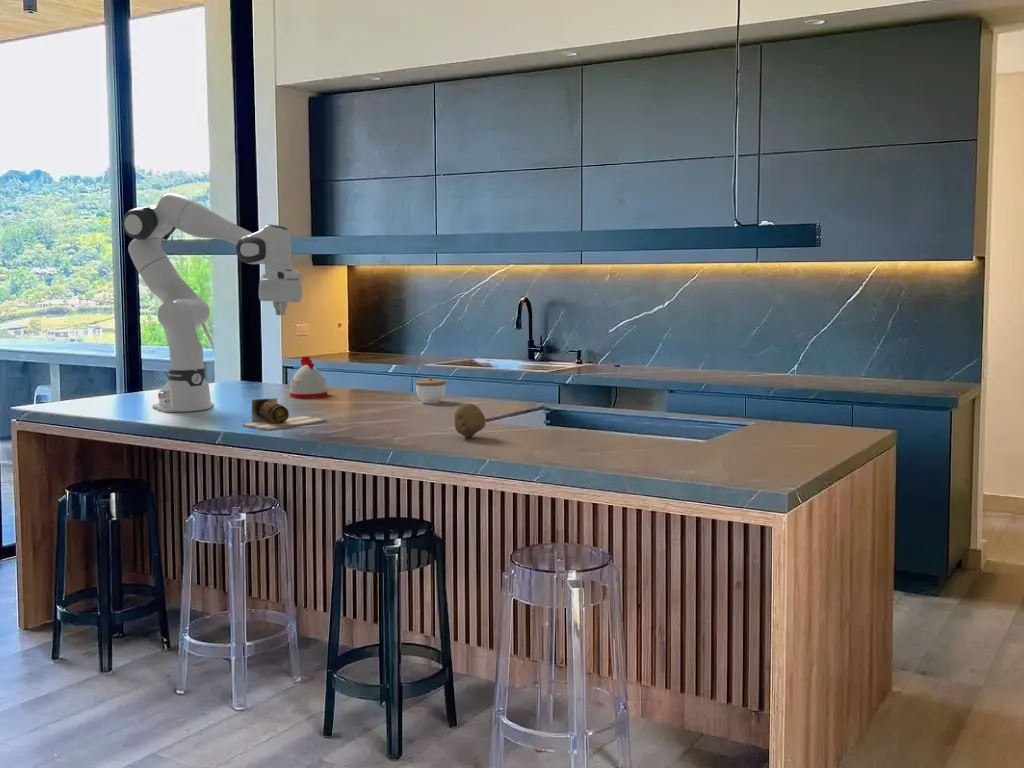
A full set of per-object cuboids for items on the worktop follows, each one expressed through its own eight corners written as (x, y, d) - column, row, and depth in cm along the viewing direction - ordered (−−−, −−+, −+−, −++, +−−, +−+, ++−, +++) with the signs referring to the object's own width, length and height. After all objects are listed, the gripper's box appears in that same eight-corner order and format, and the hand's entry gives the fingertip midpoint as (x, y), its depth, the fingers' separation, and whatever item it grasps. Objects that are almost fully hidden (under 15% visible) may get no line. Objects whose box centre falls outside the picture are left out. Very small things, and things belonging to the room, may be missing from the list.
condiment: (277, 420, 338) (291, 425, 328) (251, 422, 333) (265, 427, 324) (276, 398, 337) (291, 402, 328) (251, 399, 333) (265, 403, 323)
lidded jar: (449, 400, 378) (448, 374, 377) (442, 404, 368) (441, 378, 367) (420, 400, 380) (419, 374, 379) (412, 404, 370) (411, 378, 369)
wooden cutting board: (242, 425, 328) (242, 424, 328) (300, 417, 344) (300, 415, 344) (268, 430, 319) (267, 428, 318) (326, 421, 334) (326, 419, 334)
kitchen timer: (314, 392, 405) (313, 354, 403) (334, 395, 395) (332, 356, 393) (283, 396, 396) (281, 356, 394) (302, 399, 386) (300, 359, 384)
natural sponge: (489, 435, 306) (488, 401, 304) (481, 440, 297) (480, 406, 296) (459, 434, 308) (458, 401, 306) (450, 439, 299) (449, 405, 298)
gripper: (253, 273, 352) (254, 314, 354) (288, 274, 339) (290, 316, 340) (268, 273, 357) (270, 313, 359) (304, 273, 343) (306, 315, 345)
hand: (280, 315), depth 349 cm, fingers closed
